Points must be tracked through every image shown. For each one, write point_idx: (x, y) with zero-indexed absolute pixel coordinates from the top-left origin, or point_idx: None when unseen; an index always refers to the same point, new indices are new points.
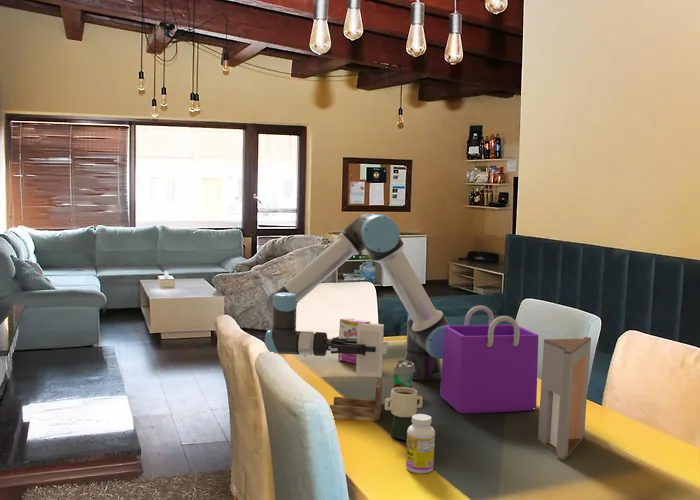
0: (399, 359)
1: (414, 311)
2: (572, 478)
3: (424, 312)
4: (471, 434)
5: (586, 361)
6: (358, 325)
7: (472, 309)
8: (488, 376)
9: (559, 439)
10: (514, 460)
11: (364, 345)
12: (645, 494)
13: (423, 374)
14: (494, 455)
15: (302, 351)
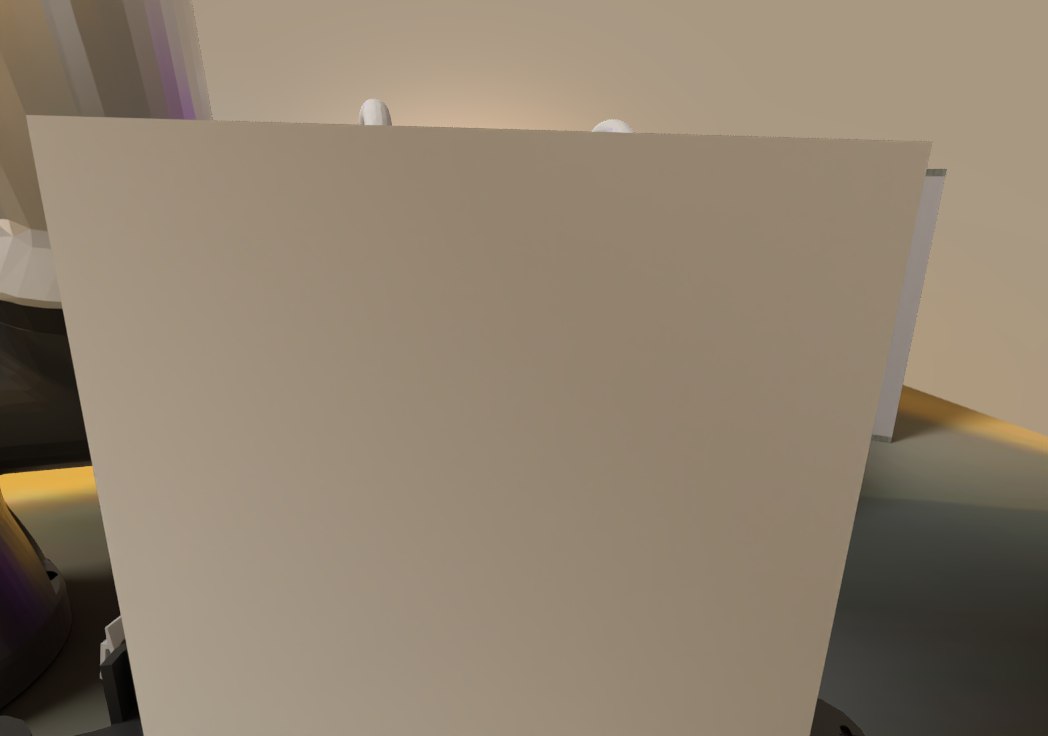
0: (111, 626)
1: (157, 92)
2: (984, 440)
3: (207, 114)
4: (874, 547)
5: None
6: (811, 148)
7: (387, 112)
8: None
9: (900, 395)
10: (996, 491)
11: (831, 710)
12: (943, 399)
13: (34, 634)
14: (1013, 517)
15: None
